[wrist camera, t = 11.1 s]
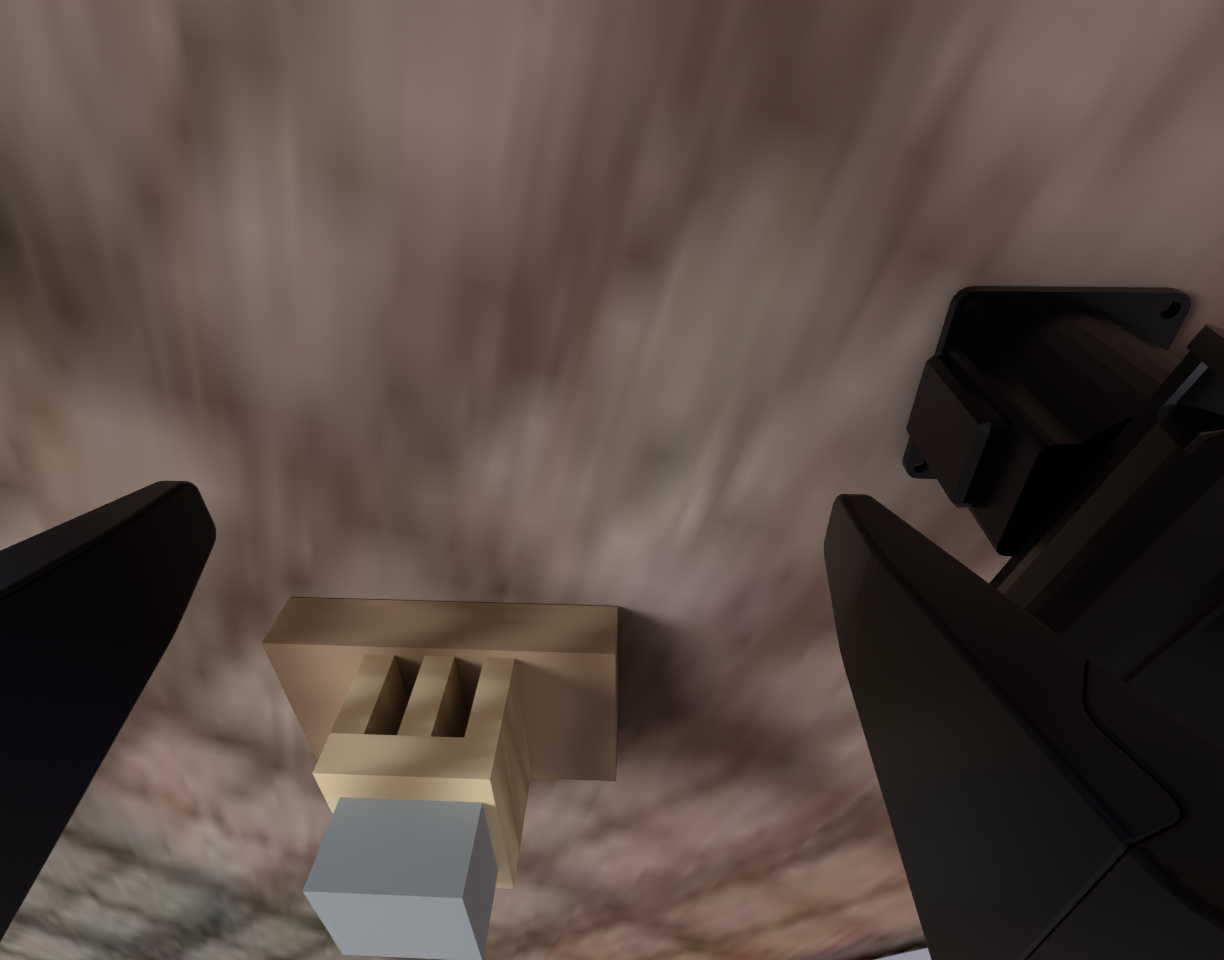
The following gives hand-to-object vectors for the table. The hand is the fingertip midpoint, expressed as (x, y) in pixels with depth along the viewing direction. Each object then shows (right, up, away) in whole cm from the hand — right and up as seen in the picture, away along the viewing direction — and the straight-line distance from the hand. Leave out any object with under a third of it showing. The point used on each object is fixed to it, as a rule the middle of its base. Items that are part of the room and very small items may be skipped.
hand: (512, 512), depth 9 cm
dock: (-5, -8, +21) cm, 23 cm away
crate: (-6, -13, +15) cm, 20 cm away
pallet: (-5, -10, +19) cm, 22 cm away
